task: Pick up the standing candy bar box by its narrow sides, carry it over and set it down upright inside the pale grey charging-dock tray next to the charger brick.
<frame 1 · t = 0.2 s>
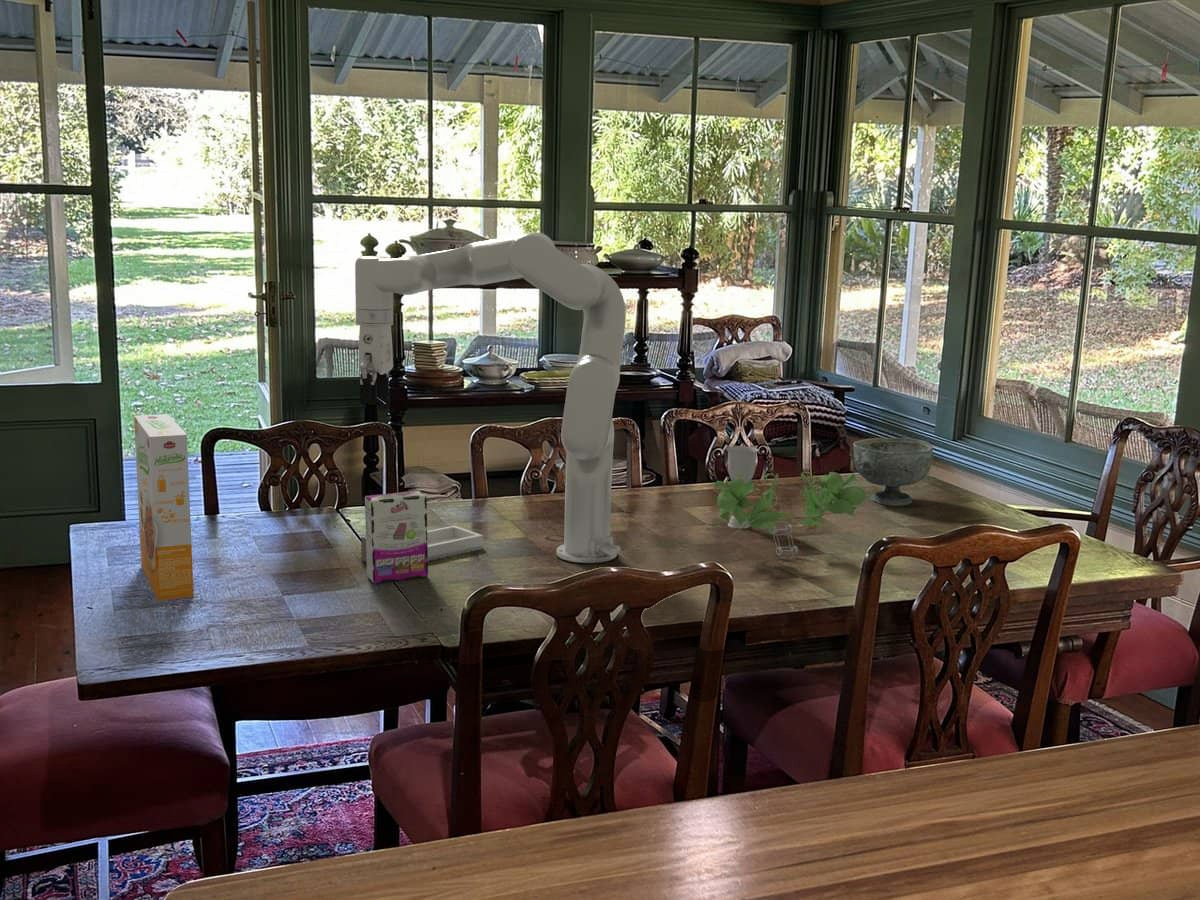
hand: (375, 400, 253), 31 cm above the table, tool pointing down, fingers open, 9 cm apart
charger brick: (375, 560, 248), on the table
bowl: (889, 501, 310), on the table
plant cuttings: (775, 552, 262), on the table
candy bar box: (396, 578, 238), on the table
dock: (437, 550, 256), on the table
cereal box: (166, 581, 232), on the table
chalice: (738, 526, 282), on the table
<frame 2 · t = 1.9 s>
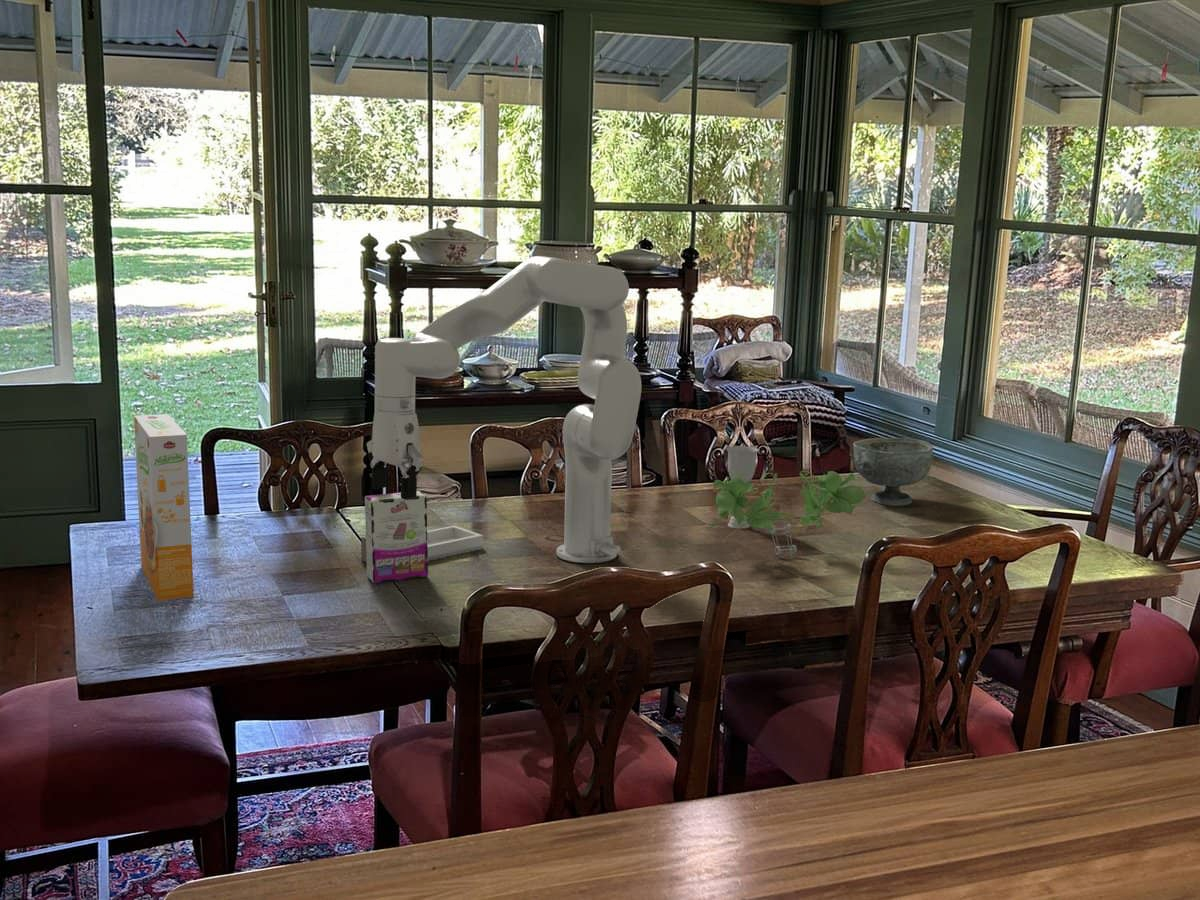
hand: (393, 492, 234), 17 cm above the table, tool pointing down, fingers open, 9 cm apart
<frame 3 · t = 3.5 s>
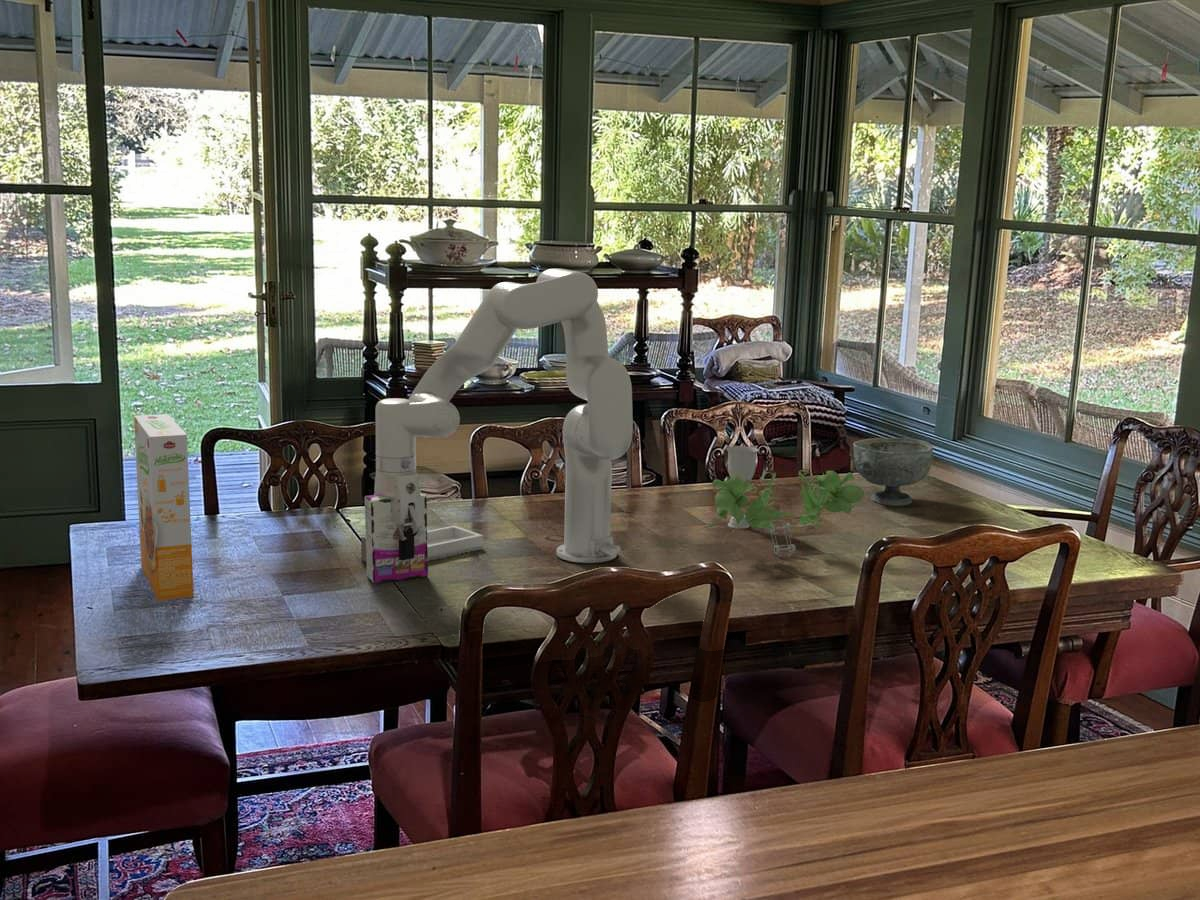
hand: (396, 554, 237), 5 cm above the table, tool pointing down, fingers closed on candy bar box, 5 cm apart
candy bar box: (396, 578, 238), on the table, touching gripper
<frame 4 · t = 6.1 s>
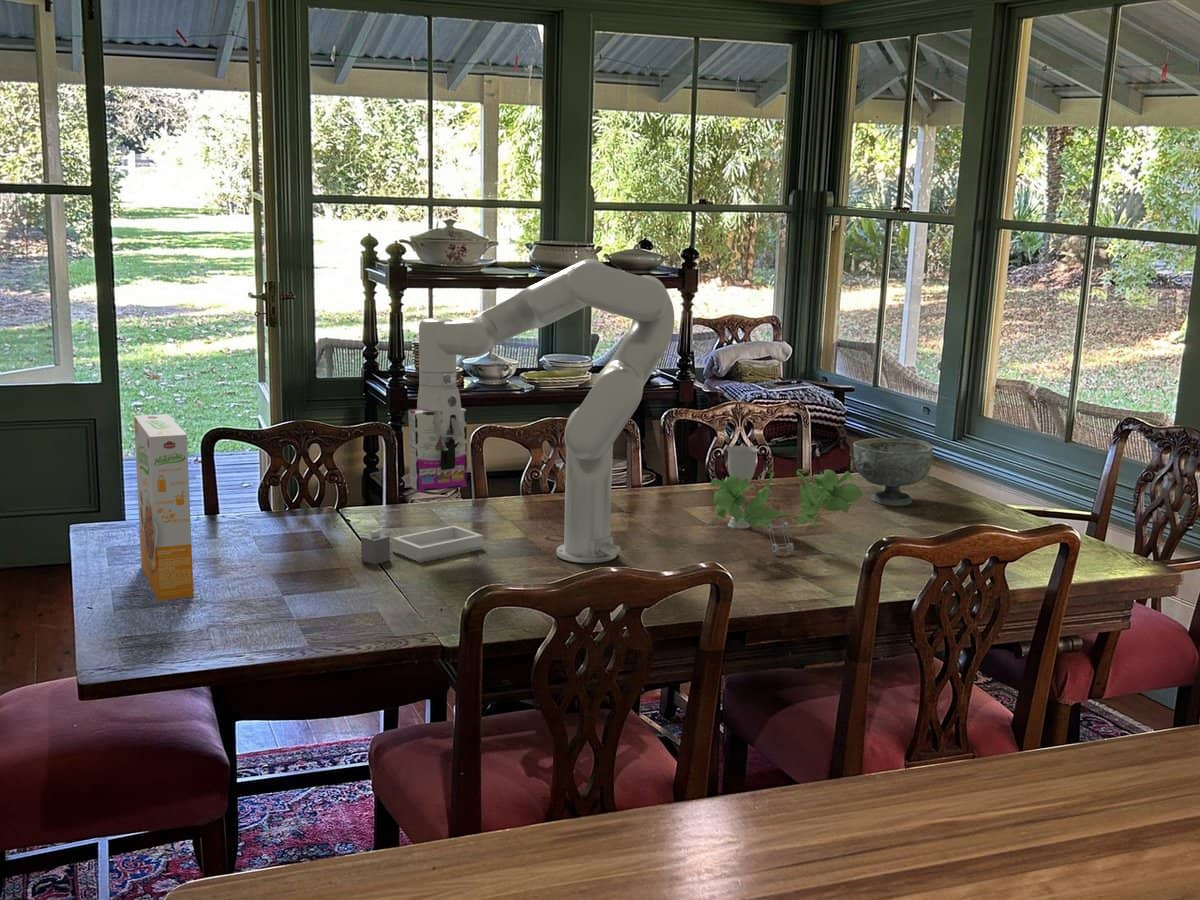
hand: (438, 465, 252), 18 cm above the table, tool pointing down, fingers closed on candy bar box, 5 cm apart
candy bar box: (438, 488, 253), point 13 cm above the table, touching gripper
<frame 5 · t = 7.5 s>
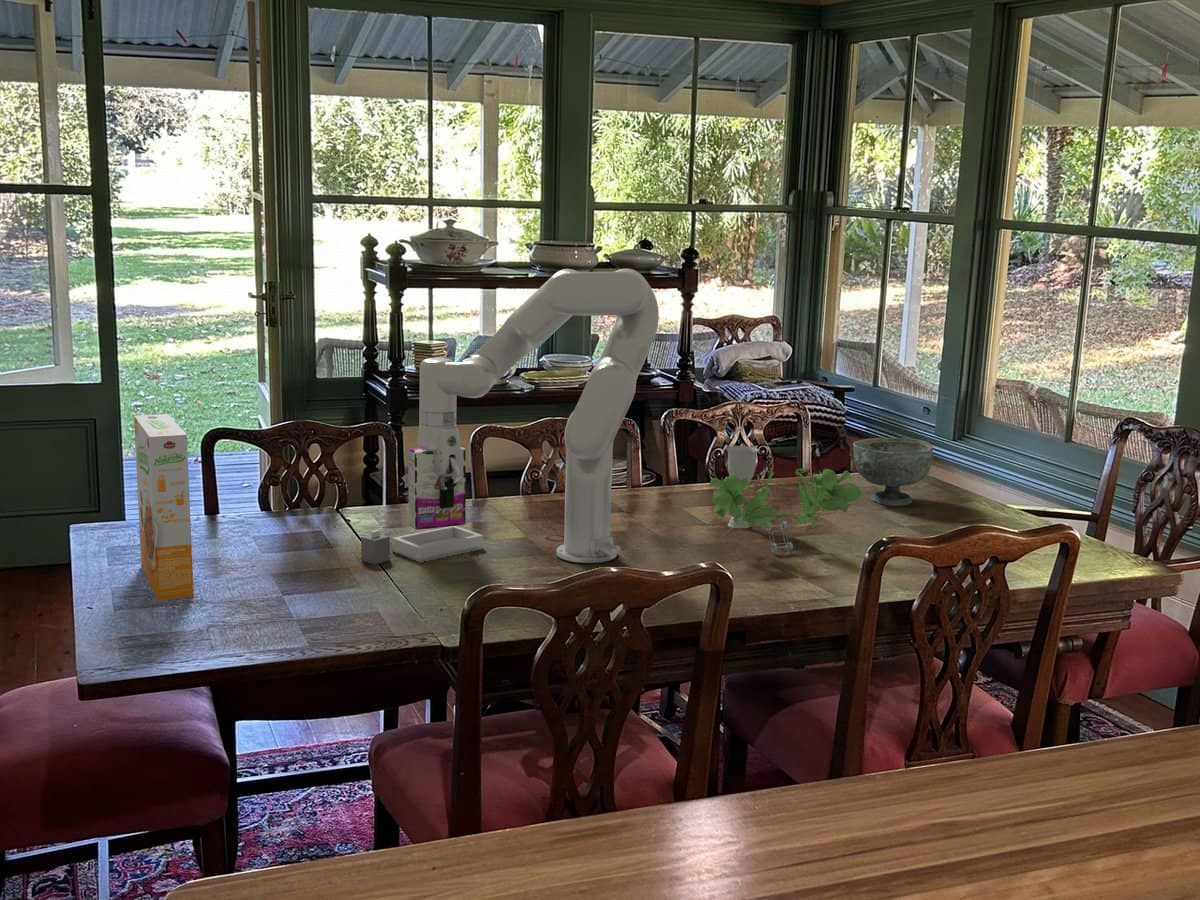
hand: (437, 503, 254), 10 cm above the table, tool pointing down, fingers closed on candy bar box, 5 cm apart
candy bar box: (436, 525, 255), point 5 cm above the table, touching gripper
when the fingers open (6 cm above the table, at t = 8.7 s): candy bar box stays where it is, resting on dock.
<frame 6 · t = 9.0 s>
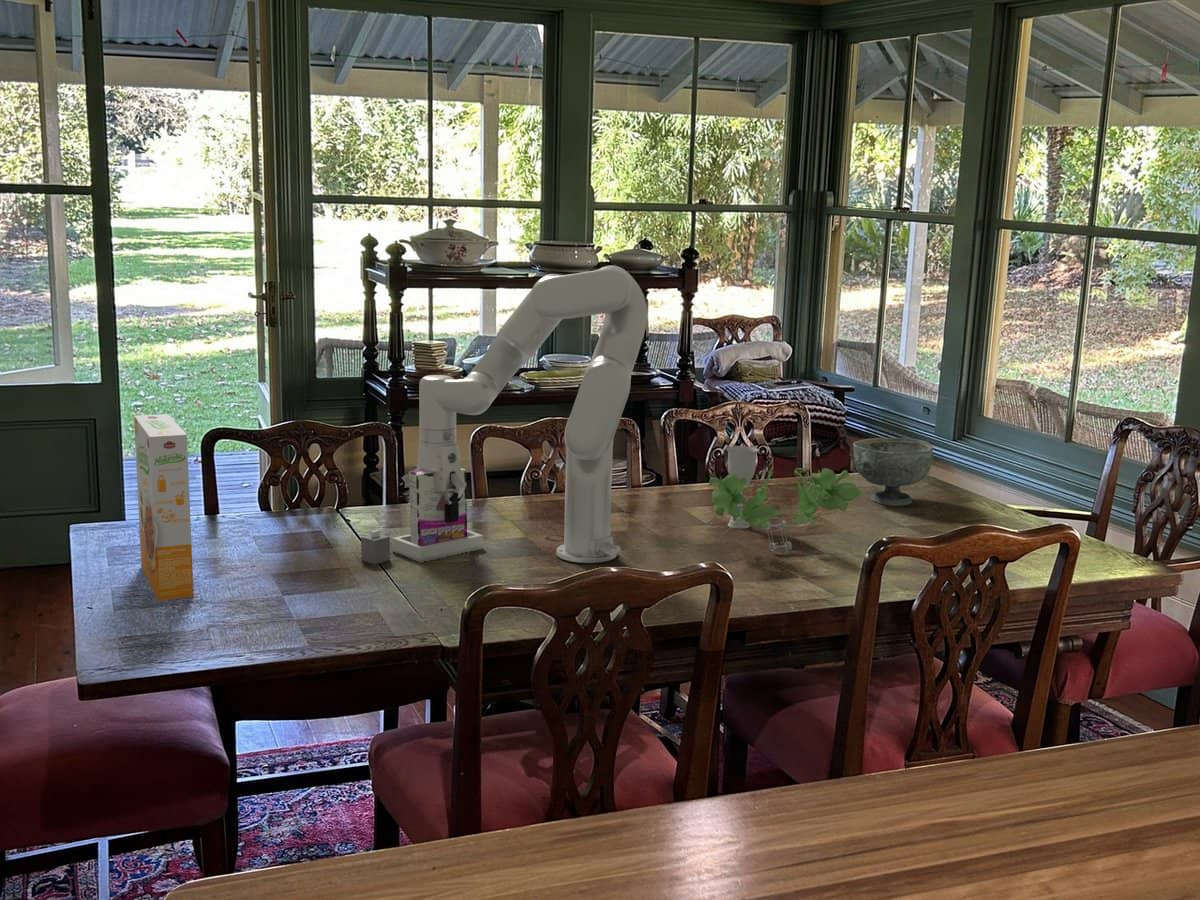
hand: (437, 517, 255), 7 cm above the table, tool pointing down, fingers open, 9 cm apart
candy bar box: (438, 547, 256), point 1 cm above the table, touching dock
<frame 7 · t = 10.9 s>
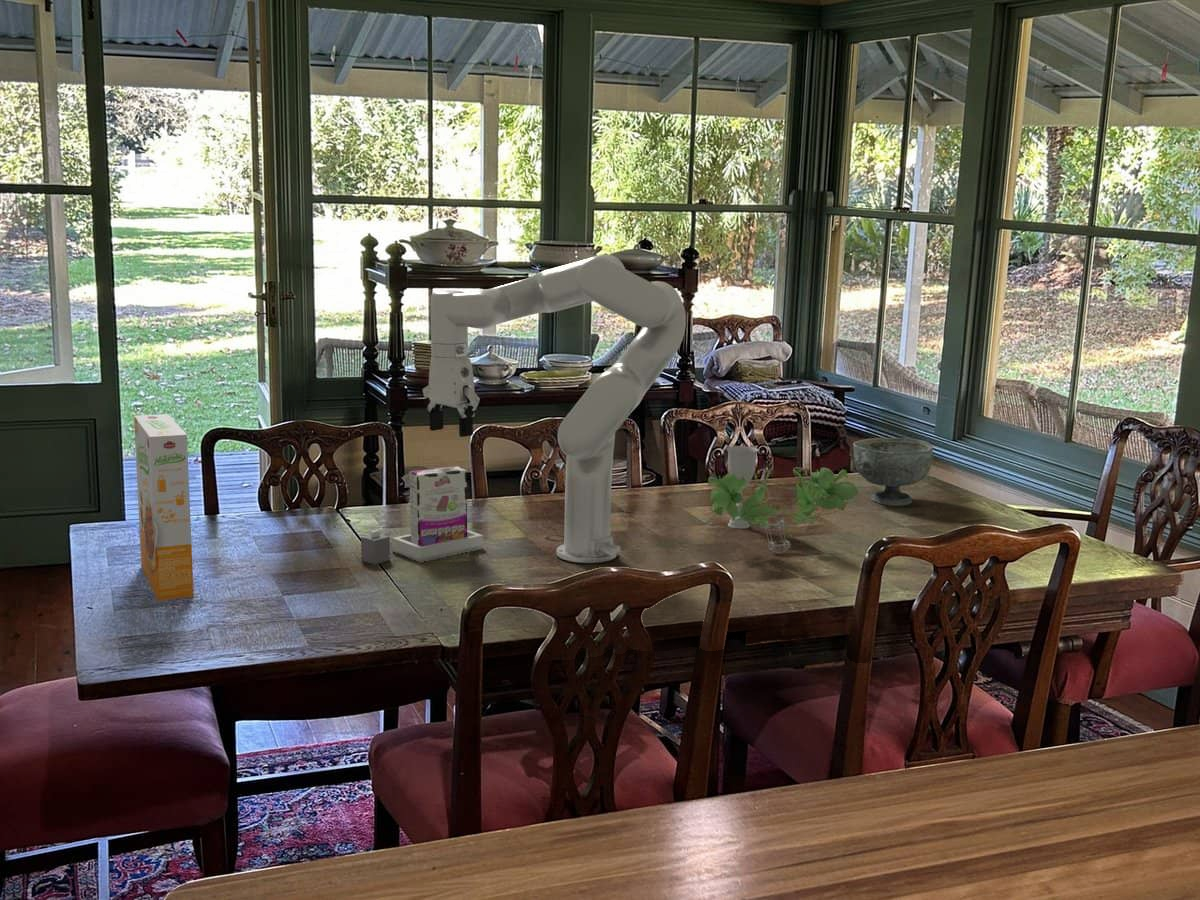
hand: (451, 432, 256), 24 cm above the table, tool pointing down, fingers open, 9 cm apart
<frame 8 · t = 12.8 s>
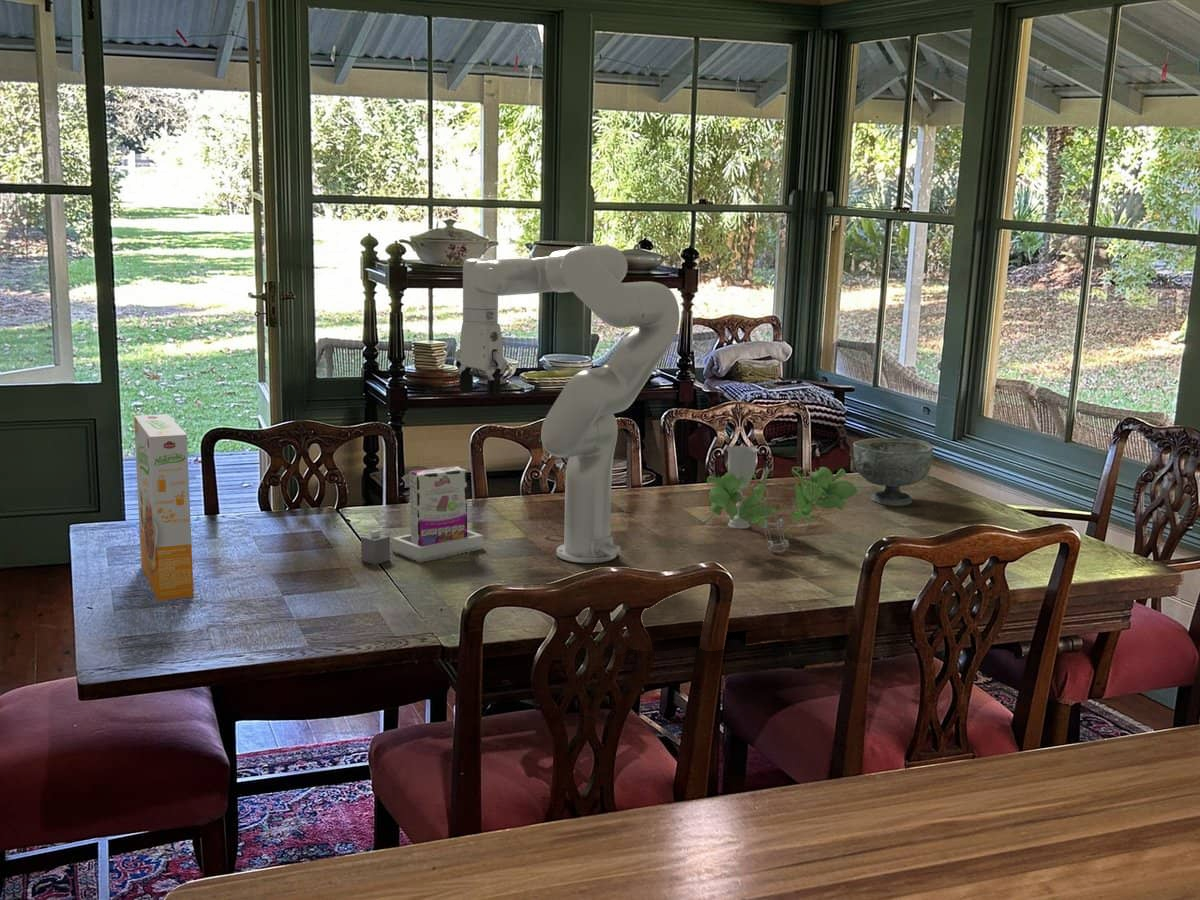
hand: (479, 394, 267), 30 cm above the table, tool pointing down, fingers open, 9 cm apart
at the end: candy bar box 0.1 cm off-centre on the dock, point 0.6 cm above the dock's base; candy bar box tilted 0°; the gripper is holding nothing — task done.
